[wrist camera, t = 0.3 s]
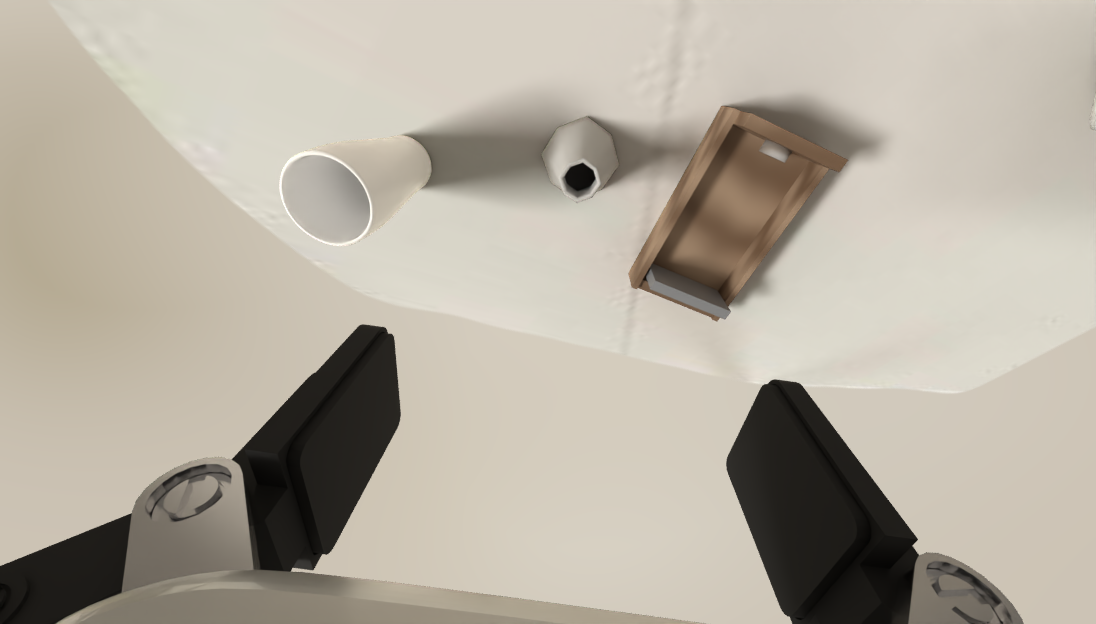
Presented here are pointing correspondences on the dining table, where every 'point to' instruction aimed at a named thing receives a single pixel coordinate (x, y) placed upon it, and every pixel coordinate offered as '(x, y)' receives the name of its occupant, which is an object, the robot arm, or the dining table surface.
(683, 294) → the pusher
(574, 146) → the flask
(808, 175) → the wooden tray
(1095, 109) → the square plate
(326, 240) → the drinking glass
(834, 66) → the dining table surface
